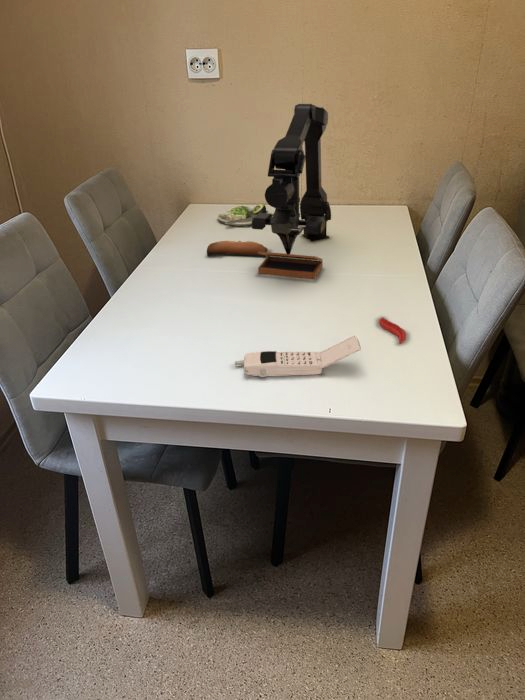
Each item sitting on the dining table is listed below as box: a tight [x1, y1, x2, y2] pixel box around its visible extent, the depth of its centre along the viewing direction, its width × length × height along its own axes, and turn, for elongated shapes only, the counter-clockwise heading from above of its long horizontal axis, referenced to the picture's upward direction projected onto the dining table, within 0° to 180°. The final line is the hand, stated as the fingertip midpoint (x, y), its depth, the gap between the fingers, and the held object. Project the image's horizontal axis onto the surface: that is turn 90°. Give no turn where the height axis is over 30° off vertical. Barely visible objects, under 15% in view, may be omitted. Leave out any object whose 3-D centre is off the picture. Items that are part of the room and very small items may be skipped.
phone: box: [266, 261, 317, 272], centre depth 156 cm, size 7×14×1 cm, turn 72°
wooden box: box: [257, 256, 324, 280], centre depth 156 cm, size 9×16×2 cm, turn 72°
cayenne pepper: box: [378, 317, 407, 344], centre depth 126 cm, size 12×5×2 cm, turn 2°
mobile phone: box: [234, 335, 362, 378], centre depth 113 cm, size 6×6×25 cm
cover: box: [258, 251, 324, 261], centre depth 154 cm, size 9×16×1 cm, turn 71°
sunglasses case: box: [206, 240, 269, 258], centre depth 169 cm, size 18×7×7 cm, turn 80°
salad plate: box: [217, 203, 274, 227], centre depth 195 cm, size 19×18×5 cm
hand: (288, 253), depth 151 cm, fingers closed
